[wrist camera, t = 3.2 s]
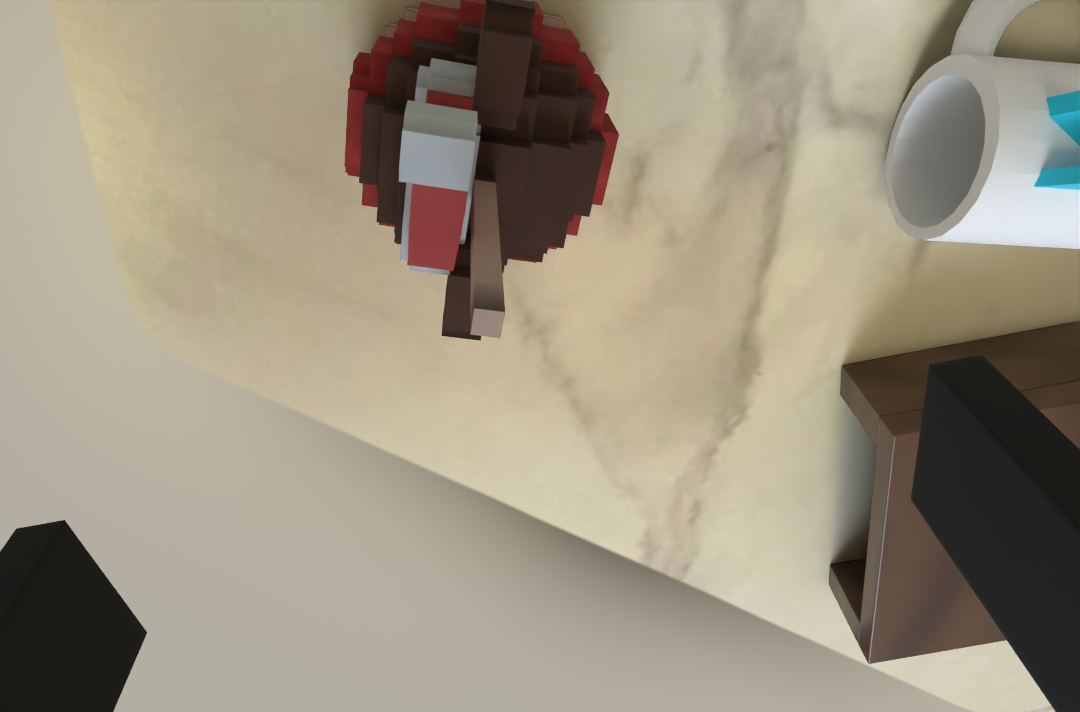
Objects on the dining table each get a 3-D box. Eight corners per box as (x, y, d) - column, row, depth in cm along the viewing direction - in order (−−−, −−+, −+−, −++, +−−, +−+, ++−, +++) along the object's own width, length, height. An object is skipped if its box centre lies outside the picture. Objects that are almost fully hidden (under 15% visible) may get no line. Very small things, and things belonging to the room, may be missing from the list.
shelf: (828, 584, 50) (891, 711, 43) (841, 365, 40) (926, 479, 33) (1131, 531, 50) (1248, 650, 42) (1219, 295, 40) (1393, 395, 32)
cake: (564, 237, 35) (632, 516, 20) (359, 208, 34) (267, 485, 19) (618, -13, 30) (769, 114, 14) (375, -61, 28) (263, 25, 13)
